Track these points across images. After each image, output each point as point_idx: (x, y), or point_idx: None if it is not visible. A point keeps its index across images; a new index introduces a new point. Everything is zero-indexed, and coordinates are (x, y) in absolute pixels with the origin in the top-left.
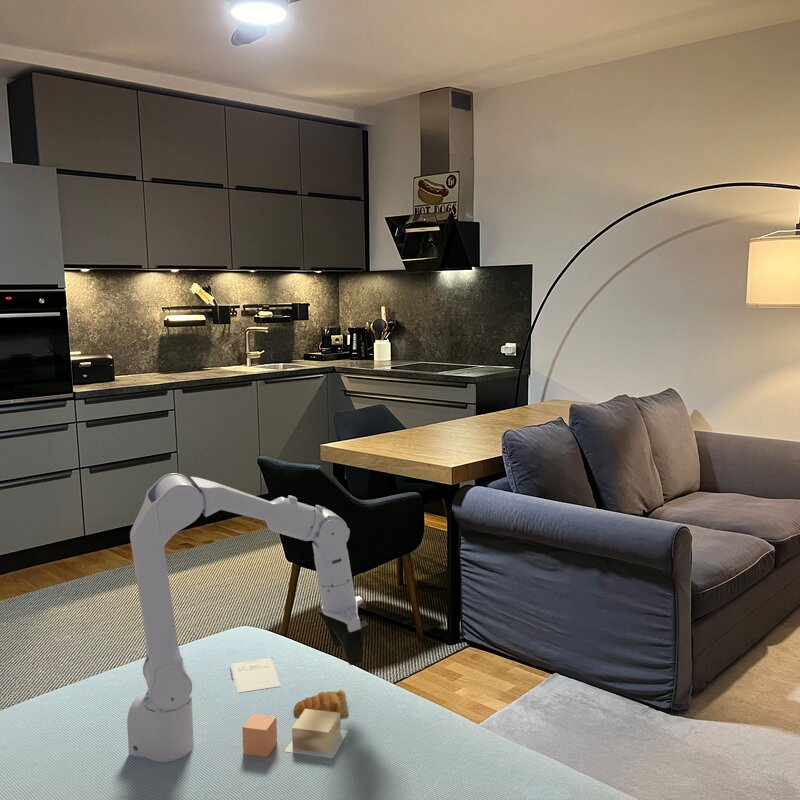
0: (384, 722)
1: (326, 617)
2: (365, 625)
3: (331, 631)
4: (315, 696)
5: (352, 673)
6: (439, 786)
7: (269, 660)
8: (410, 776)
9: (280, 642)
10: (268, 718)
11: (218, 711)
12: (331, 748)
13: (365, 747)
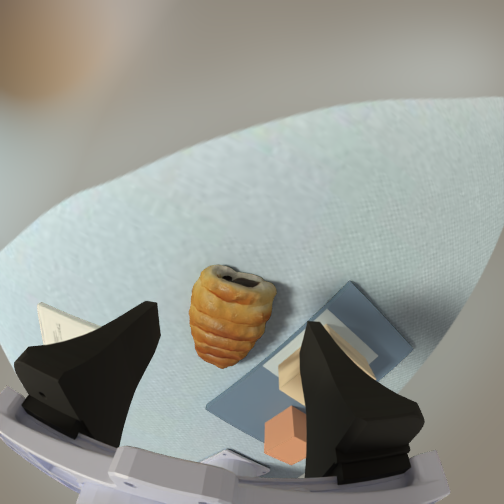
0: (321, 223)
1: (116, 431)
2: (416, 425)
3: (136, 378)
4: (214, 339)
5: (107, 193)
6: (486, 243)
7: (43, 312)
8: (459, 266)
9: (2, 262)
10: (291, 443)
11: (155, 417)
12: (357, 351)
13: (372, 293)
